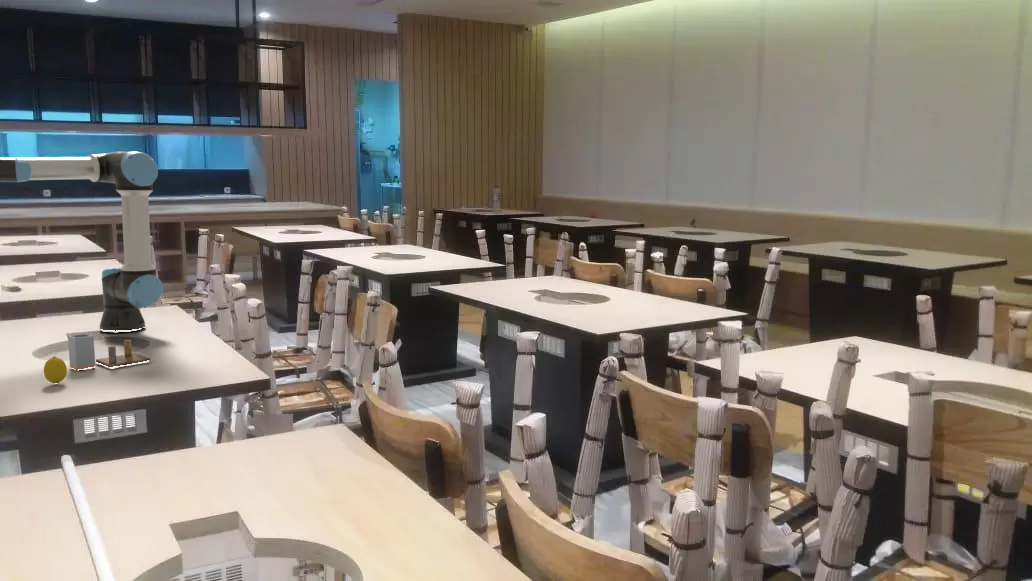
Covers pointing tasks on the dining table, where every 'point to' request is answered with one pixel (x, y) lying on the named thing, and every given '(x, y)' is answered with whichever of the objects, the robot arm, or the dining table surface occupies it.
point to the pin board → (122, 356)
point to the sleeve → (81, 351)
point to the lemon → (55, 370)
